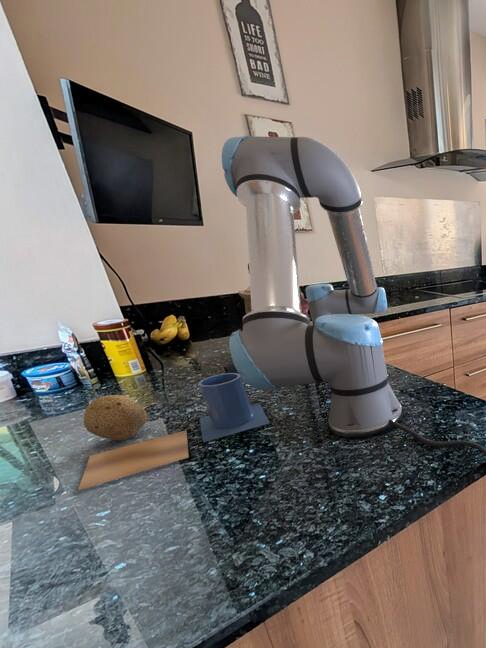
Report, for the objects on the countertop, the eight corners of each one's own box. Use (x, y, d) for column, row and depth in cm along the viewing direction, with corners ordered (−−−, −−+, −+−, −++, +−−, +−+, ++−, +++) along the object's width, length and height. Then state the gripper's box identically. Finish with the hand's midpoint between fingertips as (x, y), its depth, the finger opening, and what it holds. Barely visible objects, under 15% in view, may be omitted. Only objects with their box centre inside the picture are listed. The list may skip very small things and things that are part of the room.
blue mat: (270, 424, 86) (269, 423, 86) (203, 443, 80) (203, 442, 79) (259, 404, 97) (259, 402, 96) (200, 419, 90) (199, 418, 90)
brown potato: (81, 452, 78) (57, 407, 74) (119, 430, 86) (98, 388, 82) (129, 449, 79) (107, 404, 75) (162, 427, 87) (144, 386, 83)
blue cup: (255, 421, 87) (242, 379, 83) (214, 432, 83) (198, 389, 79) (251, 409, 93) (238, 370, 89) (212, 419, 89) (197, 379, 85)
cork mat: (189, 458, 75) (188, 457, 74) (78, 492, 66) (77, 490, 66) (187, 431, 85) (186, 429, 85) (90, 457, 76) (89, 455, 76)
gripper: (351, 360, 111) (302, 390, 91) (274, 357, 115) (211, 386, 96) (346, 334, 108) (294, 359, 88) (266, 332, 112) (200, 356, 93)
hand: (251, 373), depth 92 cm, fingers open, 13 cm apart
